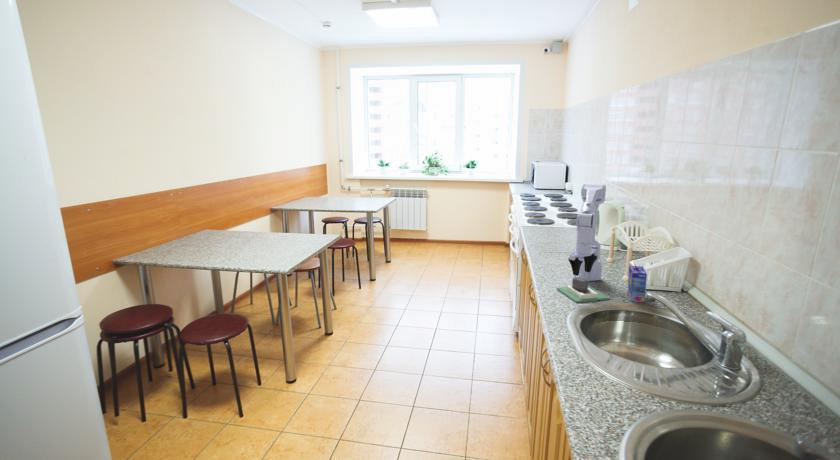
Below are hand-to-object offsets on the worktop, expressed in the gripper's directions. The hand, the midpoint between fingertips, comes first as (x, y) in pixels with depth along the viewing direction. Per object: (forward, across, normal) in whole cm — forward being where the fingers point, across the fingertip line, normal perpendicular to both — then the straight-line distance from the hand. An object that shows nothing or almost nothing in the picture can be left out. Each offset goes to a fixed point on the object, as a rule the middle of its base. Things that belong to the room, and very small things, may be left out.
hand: (581, 273), depth 168 cm
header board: (+9, -1, 0) cm, 9 cm away
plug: (+9, 0, 0) cm, 9 cm away
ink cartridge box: (+10, -16, +14) cm, 24 cm away
